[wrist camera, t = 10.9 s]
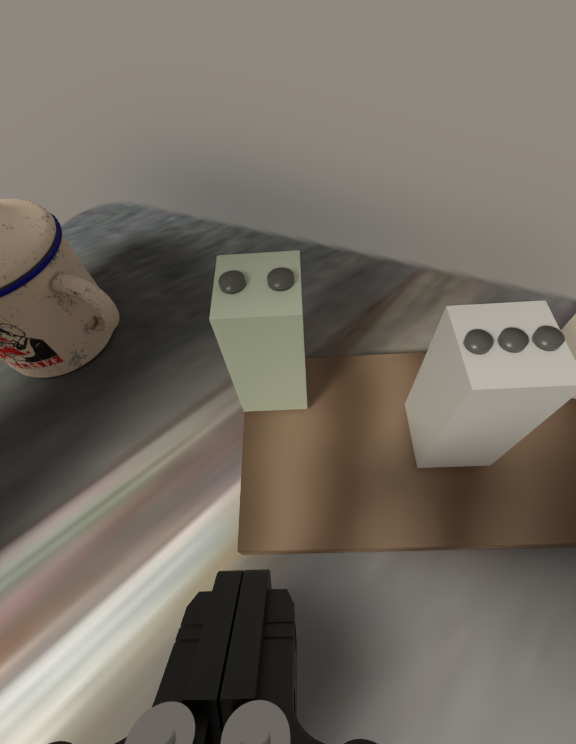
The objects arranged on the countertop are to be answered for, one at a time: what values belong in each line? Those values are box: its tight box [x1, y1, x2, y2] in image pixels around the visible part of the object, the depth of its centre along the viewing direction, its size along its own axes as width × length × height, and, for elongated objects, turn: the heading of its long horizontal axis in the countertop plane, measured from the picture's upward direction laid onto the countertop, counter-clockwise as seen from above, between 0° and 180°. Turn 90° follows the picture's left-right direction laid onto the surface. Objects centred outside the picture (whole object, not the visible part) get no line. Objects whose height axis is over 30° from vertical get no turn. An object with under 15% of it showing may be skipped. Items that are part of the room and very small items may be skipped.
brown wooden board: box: [238, 352, 576, 555], centre depth 23 cm, size 24×12×2 cm, turn 91°
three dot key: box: [405, 301, 576, 468], centre depth 18 cm, size 4×4×9 cm
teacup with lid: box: [0, 199, 119, 378], centre depth 25 cm, size 12×9×12 cm
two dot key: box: [209, 250, 307, 412], centre depth 21 cm, size 4×4×9 cm
